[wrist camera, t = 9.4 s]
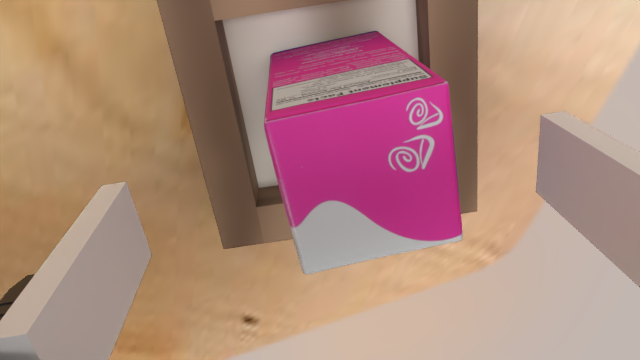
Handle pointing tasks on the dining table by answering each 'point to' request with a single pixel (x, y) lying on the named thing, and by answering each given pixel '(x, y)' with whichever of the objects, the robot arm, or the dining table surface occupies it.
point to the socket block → (252, 83)
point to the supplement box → (361, 151)
